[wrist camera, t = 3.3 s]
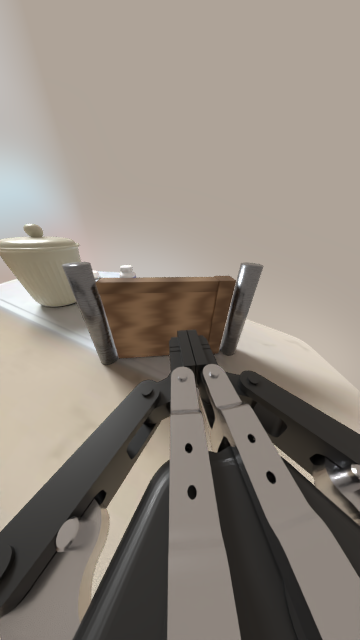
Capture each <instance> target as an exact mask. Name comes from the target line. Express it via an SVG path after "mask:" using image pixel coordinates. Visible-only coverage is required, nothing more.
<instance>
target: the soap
mask: <svg viewBox="0 0 360 640" xmlns="http://www.w3.org/2000/svg"><path fill="white" fill-rule="evenodd" d="M93 274H94V278H95V279H97V278H100V275H99V273H98V272H97V271H95V270H93Z"/></svg>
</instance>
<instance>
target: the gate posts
mask: <svg viewBox="0 0 360 640" xmlns="http://www.w3.org/2000/svg"><path fill="white" fill-rule="evenodd" d="M62 267H63V270H64V272H65V275H66V277H67V280H68V282H69V284H70V287H71V289H72V292H73V294H74V297H75V299H76V302H77V304H78V306H79V309H80V311H81V314H82V316H83V319H84V321H85V324H86V326H87V328H88V331H89V333H90V336H91V338H92V341H93V343H94V346H95V348H96V351H97V353H98V355H99V358H100V360H101V363H102V364H105V365H108V364H112V363H114V362H115V361H116V360H117V359H118V354H117V350H116V347H115V344H114V341H113V337H112V334H111V331H110V327H109V324H108V321H107V317H106V314H105V311H104V307H103V304H102V301H101V297H100V294H99V293H98V290H97V286H96V283H95V282H96V281H95V278H94V274H93V271H92V268H91V265H90V263H88V262H73V263H67V264H63V265H62ZM262 269H263V265H260V264H255V263H241V266H240V270H239V274H238V278H237V282H236V286H235V290H234V294H233V298H232V302H231V306H230V310H229V314H228V318H227V322H226V326H225V330H224V334H223V338H222V342H221V346H220V351H221V352H222V353H223V354H225V355H233V354H234V353H235V350H236V347H237V344H238V341H239V338H240V335H241V332H242V329H243V326H244V323H245V320H246V317H247V314H248V311H249V308H250V305H251V302H252V299H253V296H254V293H255V290H256V287H257V284H258V281H259V278H260V275H261V272H262Z"/></svg>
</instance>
